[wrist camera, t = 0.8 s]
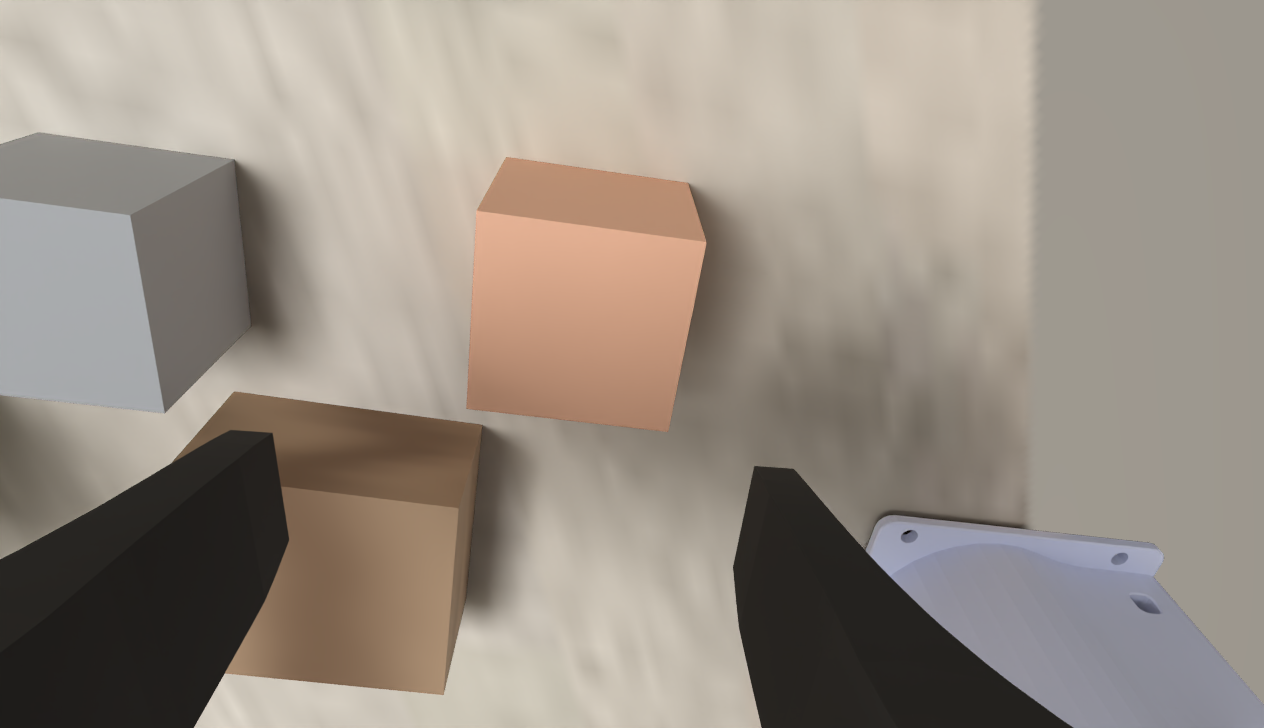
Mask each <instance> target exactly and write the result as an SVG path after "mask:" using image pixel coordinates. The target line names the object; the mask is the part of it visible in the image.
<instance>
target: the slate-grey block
mask: <svg viewBox="0 0 1264 728" xmlns="http://www.w3.org/2000/svg"><path fill="white" fill-rule="evenodd" d="M250 327H251V318H250V308H249V298H248V289H247V279H246V269H245V259H244V249H243V240H242V230H241V220H240V210H239V200H238V191H237V181H236V171H235V161H234V159H226V158H219V157H212V156H205V155H197V154H190V153H183V152H176V151H168V150H161V149H154V148H147V147H139V146H132V145H125V144H118V143H111V142H103V141H96V140H89V139H82V138H74V137H67V136H60V135H53V134H45V133H35V134H32V135H29V136H25V137H22V138H19V139H16V140H12V141H9V142H6V143H3V144H0V395H4V396H13V397H22V398H31V399H40V400H49V401H58V402H67V403H76V404H85V405H94V406H103V407H112V408H121V409H130V410H139V411H148V412H157V413H165V412H166V411H167V410H168V409H169V408H170V407H171V406H172V405H173V404H174V403H175V402H176V401H177V400H178V399H179V398H180V397H181V396H182V395H183V394H184V393H185V392H186V391H187V390H188V389H189V388H190V387H191V386H192V385H193V384H194V383H195V382H196V381H197V380H198V379H199V378H200V377H201V376H202V375H203V374H204V373H205V372H206V371H207V370H208V369H209V368H210V367H211V366H212V365H213V364H214V363H215V362H216V361H217V360H218V359H219V358H220V357H221V356H222V355H223V354H224V353H225V352H226V351H227V350H228V349H229V348H230V347H231V346H232V345H233V344H234V343H235V342H236V341H237V340H238V339H239V338H240V337H241V336H242V335H243V334H244V333H245V332H246V331H247V330H248V329H249V328H250Z"/></svg>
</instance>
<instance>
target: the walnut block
mask: <svg viewBox="0 0 1264 728" xmlns="http://www.w3.org/2000/svg"><path fill="white" fill-rule="evenodd" d="M229 430H240V431H254V432H269V433H273V438H274V445H275V451H276V457H277V464H278V470H279V477H280V483H281V489H282V496H283V502H284V509H285V515H286V522H287V528H288V534H289V542H288V545H287V547H286V550H285V553H284V555H283V558H282V560H281V563H280V566H279V568H278V571H277V574H276V576H275V578H274V581H273V583H272V586H271V588H270V590H269V593H268V595H267V598H266V600H265V602H264V604H263V606H262V608H261V609H260V611H259V613H258V615H257V617H256V619H255V620H254V622H253V624H252V626H251V628H250V629H249V631H248V633H247V635H246V636H245V638H244V640H243V642H242V644H241V645H240V647H239V649H238V651H237V653H236V654H235V656H234V658H233V660H232V661H231V663H230V665H229V667H228V668H227V670H226V672H225V673H227V674H237V675H247V676H257V677H267V678H277V679H288V680H298V681H308V682H318V683H328V684H338V685H348V686H358V687H368V688H379V689H389V690H399V691H409V692H419V693H429V694H439V695H444V690H445V686H446V682H447V678H448V673H449V669H450V665H451V661H452V656H453V652H454V648H455V643H456V639H457V635H458V631H459V626H460V622H461V618H462V614H463V609H464V605H465V601H466V594H467V583H468V573H469V562H470V552H471V541H472V531H473V520H474V510H475V499H476V488H477V478H478V467H479V457H480V446H481V436H482V425H479V424H472V423H464V422H457V421H449V420H442V419H434V418H427V417H420V416H412V415H405V414H397V413H390V412H382V411H375V410H367V409H360V408H353V407H345V406H338V405H330V404H323V403H315V402H308V401H301V400H293V399H286V398H278V397H271V396H263V395H256V394H249V393H241V392H233V393H232V395H231V396H230V397H229V398H228V399H227V400H226V401H225V403H224V404H223V405H222V406H221V407H220V408H219V409H218V411H217V412H216V413H215V414H214V415H213V416H212V417H211V419H210V420H209V421H208V422H207V423H206V424H205V425H204V427H203V428H202V429H201V430H200V431H199V432H198V433H197V435H196V436H195V437H194V438H193V439H192V440H191V441H190V443H189V444H188V445H187V446H186V447H185V448H184V449H183V451H182V452H181V453H180V454H179V455H178V456H177V457H176V459H175V460H174V461H173V462H175V461H176V460H178V459H180V458H181V457H183V456H185V455H186V454H188V453H190V452H191V451H193V450H195V449H196V448H198V447H200V446H202V445H203V444H205V443H207V442H209V441H210V440H212V439H214V438H216V437H218V436H220V435H221V434H223V433H225V432H227V431H229ZM173 462H172V463H173Z"/></svg>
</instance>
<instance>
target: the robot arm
mask: <svg viewBox="0 0 1264 728" xmlns="http://www.w3.org/2000/svg"><path fill="white" fill-rule="evenodd" d="M907 530H912V531H911V532H910V533H908V534H903V533H904V532H906V531H907ZM902 534H903V535H902ZM288 542H289V534H288V528H287V522H286V515H285V509H284V502H283V496H282V489H281V483H280V477H279V470H278V464H277V457H276V451H275V445H274V438H273V433H269V432H254V431H240V430H229V431H227V432H225V433H223V434H221V435H220V436H218V437H216V438H214V439H212V440H210V441H209V442H207V443H205V444H203V445H202V446H200V447H198V448H196V449H195V450H193V451H191V452H190V453H188V454H186V455H185V456H183V457H181V458H180V459H178V460H176V461H175V462H173V463H171V464H170V465H168V466H166V467H165V468H163V469H161V470H160V471H158V472H156V473H155V474H153V475H151V476H150V477H148V478H146V479H145V480H143V481H141V482H139V483H138V484H136V485H134V486H133V487H131V488H129V489H128V490H126V491H124V492H123V493H121V494H119V495H117V496H116V497H114V498H112V499H111V500H109V501H107V502H106V503H104V504H102V505H100V506H99V507H97V508H95V509H93V510H92V511H90V512H88V513H86V514H84V515H82V516H81V517H79V518H77V519H75V520H73V521H71V522H70V523H68V524H66V525H64V526H62V527H60V528H59V529H57V530H55V531H53V532H51V533H49V534H48V535H46V536H44V537H42V538H40V539H38V540H37V541H35V542H33V543H31V544H29V545H27V546H26V547H24V548H22V549H20V550H18V551H16V552H14V553H12V554H10V555H8V556H6V557H4V558H2V559H0V728H194V726H195V725H196V723H197V721H198V719H199V717H200V716H201V714H202V712H203V710H204V709H205V707H206V705H207V703H208V702H209V700H210V698H211V696H212V695H213V693H214V691H215V689H216V688H217V686H218V684H219V682H220V681H221V679H222V677H223V675H224V674H225V672H226V670H227V668H228V667H229V665H230V663H231V661H232V660H233V658H234V656H235V654H236V653H237V651H238V649H239V647H240V645H241V644H242V642H243V640H244V638H245V636H246V635H247V633H248V631H249V629H250V628H251V626H252V624H253V622H254V620H255V619H256V617H257V615H258V613H259V611H260V609H261V608H262V606H263V604H264V602H265V600H266V598H267V595H268V593H269V590H270V588H271V586H272V583H273V581H274V578H275V576H276V574H277V571H278V568H279V566H280V563H281V560H282V558H283V555H284V553H285V550H286V547H287V545H288ZM1116 554H1117V555H1116ZM1163 559H1164V554H1163V553H1162V552H1161V551H1160V550H1159V548H1158V547H1157V546H1156V545H1155V544H1152V543H1148V542H1138V541H1129V540H1119V539H1110V538H1101V537H1092V536H1083V535H1074V534H1064V533H1055V532H1046V531H1037V530H1028V529H1019V528H1009V527H1000V526H991V525H982V524H973V523H963V522H954V521H945V520H936V519H926V518H917V517H908V516H899V515H889V516H886V517H883V518H882V519H880V520H879V521H878V522H877V524H876V525H875V527H874V530H873V533H872V535H871V538H870V540H869V543H868V546H867V548H866V551H865V550H864V549H863V548H862V546H861V545H860V544H859V543H858V542H857V541H856V540H855V539H854V538H853V537H852V535H851V534H850V533H849V532H848V531H847V530H846V529H845V528H844V526H843V525H842V524H841V523H840V522H839V521H838V520H837V518H836V517H835V516H834V515H833V514H832V513H831V512H830V510H829V509H828V508H827V507H826V506H825V505H824V503H823V502H822V501H821V500H820V499H819V498H818V496H817V495H816V494H815V493H814V492H813V491H812V489H811V488H810V487H809V486H808V485H807V483H806V482H805V481H804V480H803V479H802V478H801V477H800V475H799V474H798V473H797V472H796V471H795V470H794V469H788V468H774V467H759V466H754V470H753V475H752V480H751V485H750V489H749V494H748V499H747V504H746V508H745V513H744V518H743V523H742V527H741V532H740V537H739V542H738V546H737V551H736V556H735V561H734V565H733V571H734V582H735V593H736V604H737V613H738V622H739V629H740V634H741V639H742V643H743V648H744V652H745V657H746V661H747V666H748V670H749V675H750V679H751V683H752V688H753V692H754V697H755V701H756V705H757V710H758V714H759V718H760V723H761V727H762V728H1264V704H1263V703H1262V702H1261V701H1260V700H1259V698H1258V697H1257V696H1256V695H1255V694H1254V693H1253V691H1252V690H1251V689H1250V688H1249V687H1248V686H1247V685H1246V683H1245V682H1244V681H1243V680H1242V679H1241V678H1240V676H1239V675H1238V674H1237V673H1236V672H1235V671H1234V670H1233V668H1232V667H1231V666H1230V665H1229V664H1228V663H1227V661H1226V660H1225V659H1224V658H1223V657H1222V656H1221V655H1220V653H1219V652H1218V651H1217V650H1216V649H1215V648H1214V646H1213V645H1212V644H1211V643H1210V642H1209V640H1208V639H1207V638H1206V637H1205V636H1204V635H1203V634H1202V632H1201V631H1200V630H1199V629H1198V628H1197V627H1196V625H1195V624H1194V623H1193V622H1192V621H1191V620H1190V619H1189V617H1188V616H1187V615H1186V614H1185V613H1184V612H1183V611H1182V609H1181V608H1180V607H1179V606H1178V605H1177V604H1176V602H1175V601H1174V600H1173V599H1172V598H1171V597H1170V595H1169V594H1168V593H1167V592H1166V591H1165V590H1164V588H1163V587H1162V586H1161V585H1160V584H1159V583H1158V581H1156V579H1155V578H1154V575H1155V574H1156V572H1157V570H1158V569H1159V567H1160V566H1161V564H1162V562H1163Z"/></svg>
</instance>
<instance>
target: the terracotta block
mask: <svg viewBox="0 0 1264 728" xmlns="http://www.w3.org/2000/svg"><path fill="white" fill-rule="evenodd" d="M706 243H707V242H706V238H705V235H704V232H703V229H702V226H701V223H700V219H699V216H698V213H697V210H696V207H695V204H694V200H693V197H692V194H691V191H690V188H689V184H688V183H683V182H676V181H669V180H663V179H656V178H649V177H642V176H635V175H628V174H621V173H614V172H607V171H600V170H593V169H586V168H579V167H572V166H565V165H558V164H551V163H544V162H537V161H530V160H523V159H516V158H509V157H506V159H505V160H504V162H503V164H502V166H501V168H500V169H499V171H498V173H497V175H496V177H495V178H494V180H493V182H492V184H491V186H490V188H489V189H488V191H487V193H486V195H485V197H484V198H483V200H482V202H481V204H480V206H479V207H478V209H477V214H476V233H475V252H474V272H473V291H472V311H471V330H470V349H469V369H468V388H467V407H466V409H473V410H482V411H490V412H499V413H508V414H517V415H525V416H534V417H543V418H552V419H560V420H569V421H578V422H587V423H595V424H604V425H613V426H621V427H630V428H639V429H648V430H656V431H665V432H668V430H669V425H670V420H671V415H672V410H673V406H674V401H675V396H676V391H677V386H678V381H679V376H680V371H681V366H682V361H683V356H684V351H685V347H686V342H687V337H688V332H689V327H690V322H691V317H692V312H693V307H694V302H695V297H696V292H697V288H698V283H699V278H700V273H701V268H702V263H703V258H704V253H705V248H706Z"/></svg>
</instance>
